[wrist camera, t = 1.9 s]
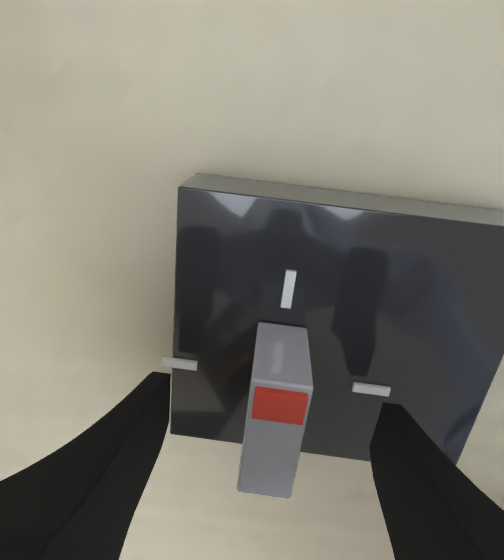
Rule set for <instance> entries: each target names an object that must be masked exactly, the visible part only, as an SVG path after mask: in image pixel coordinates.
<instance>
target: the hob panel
mask: <svg viewBox="0 0 504 560" xmlns="http://www.w3.org/2000/svg"><path fill="white" fill-rule="evenodd" d="M259 322H264V323H272V324H279V325H287V326H295V327H302V328H306V329H307V332H308V341H309V350H310V360H311V369H312V378H313V388H314V389H313V394H312V398H311V403H310V408H309V413H308V417H307V422H306V427H305V432H304V436H303V441H302V446H301V451H300V452H305V453H312V454H319V455H327V456H334V457H341V458H348V459H356V460H363V461H370V462H371V458H370V450H369V447H370V443H371V440H372V437H373V433H374V430H375V427H376V424H377V420H378V417H379V414H380V410H381V407H382V404H383V402H386V403H394V404H401V405H402V406H403V407H404V408H405V409H406V410H407V411H408V413H409V414H410V415H411V416H412V417H413V418H414V420H415V421H416V422H417V423H418V424H419V426H420V427H421V428H422V429H423V430H424V431H425V432H426V434H427V435H428V436H429V437H430V438H431V439H432V441H433V442H434V443H435V444H436V445H437V446H438V447H439V448H440V450H441V451H442V452H443V453H444V454H445V455H446V456H447V457H448V458H449V459H450V460H451V461H452V462H453V464H454V465H455V466H456V464H457V462H458V459H459V457H460V455H461V452H462V450H463V448H464V445H465V443H466V441H467V439H468V436H469V434H470V432H471V429H472V427H473V425H474V422H475V420H476V418H477V415H478V413H479V411H480V408H481V406H482V404H483V401H484V399H485V397H486V394H487V392H488V390H489V388H490V385H491V383H492V381H493V378H494V376H495V374H496V371H497V369H498V367H499V364H500V362H501V360H502V357H503V355H504V210H497V209H489V208H481V207H472V206H464V205H456V204H448V203H440V202H431V201H423V200H415V199H407V198H398V197H390V196H382V195H374V194H366V193H357V192H349V191H341V190H333V189H325V188H316V187H308V186H300V185H292V184H284V183H275V182H267V181H259V180H251V179H242V178H234V177H226V176H218V175H210V174H201V173H196V174H195V175H194V176H192V177H191V178H190V179H188V180H187V181H185V182H184V183H183V184H181V185H180V186H179V187H178V203H177V234H176V266H175V297H174V328H173V358H171V357H163V356H162V358H161V366H164V367H172V391H171V422H170V434H175V435H182V436H190V437H197V438H204V439H211V440H218V441H226V442H233V443H240V444H242V442H243V434H244V426H245V418H246V410H247V402H248V395H249V387H250V379H251V371H252V364H253V356H254V348H255V341H256V333H257V325H258V323H259Z"/></svg>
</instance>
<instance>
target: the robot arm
mask: <svg viewBox="0 0 504 560" xmlns="http://www.w3.org/2000/svg"><path fill="white" fill-rule="evenodd" d="M170 377H171V374H168V373H160V372H152V373H150V374H149V375H148V376H147V377H146V378H145V379H144V380H143V381H142V382H141V383H140V384H139V385H138V386H137V387H136V388H135V389H134V390H133V391H132V392H131V393H129V394H128V395H127V396H126V397H125V398H124V399H123V400H122V401H121V402H120V403H118V404H117V405H116V406H115V407H114V408H113V409H112V410H111V411H109V412H108V413H107V414H106V415H105V416H103V417H102V418H101V419H100V420H98V421H97V422H96V423H95V424H93V425H92V426H91V427H90V428H88V429H87V430H86V431H84V432H83V433H81V434H80V435H79V436H77V437H76V438H75V439H73V440H72V441H70V442H69V443H67V444H66V445H64V446H63V447H61V448H60V449H58V450H56V451H55V452H53V453H52V454H50V455H48V456H46V457H45V458H43V459H41V460H40V461H38V462H36V463H35V464H33V465H31V466H29V467H27V468H25V469H24V470H22V471H20V472H18V473H16V474H14V475H12V476H10V477H8V478H6V479H4V480H2V481H0V560H119V557H120V554H121V550H122V547H123V544H124V541H125V538H126V535H127V532H128V528H129V525H130V523H131V520H132V518H133V515H134V512H135V510H136V507H137V505H138V503H139V500H140V498H141V496H142V493H143V491H144V488H145V486H146V484H147V481H148V479H149V477H150V474H151V472H152V469H153V467H154V465H155V462H156V460H157V457H158V455H159V453H160V450H161V447H162V444H163V441H164V437H165V434H166V430H167V427H168V423H169V411H170ZM369 450H370V458H371V465H372V472H373V478H374V482H375V486H376V490H377V493H378V497H379V501H380V505H381V508H382V512H383V515H384V519H385V523H386V526H387V530H388V534H389V537H390V541H391V545H392V548H393V552H394V557H395V560H504V511H503V510H502V509H501V508H500V507H499V506H497V505H496V504H495V503H494V502H493V501H492V500H491V499H490V498H488V497H487V496H486V495H485V494H484V493H483V492H482V491H481V490H480V489H479V488H478V487H476V486H475V485H474V484H473V483H472V482H471V481H470V480H469V479H468V478H467V477H466V476H465V475H464V474H463V473H462V472H461V471H460V470H459V469H458V468H457V467H456V466H455V465H454V464H453V462H452V461H451V460H450V459H449V458H448V457H447V456H446V455H445V454H444V453H443V452H442V451H441V450H440V448H439V447H438V446H437V445H436V444H435V443H434V442H433V441H432V439H431V438H430V437H429V436H428V435H427V434H426V432H425V431H424V430H423V429H422V428H421V427H420V426H419V424H418V423H417V422H416V421H415V420H414V418H413V417H412V416H411V415H410V414H409V413H408V411H407V410H406V409H405V408H404V407H403V406H402V405H401V404H394V403H386V402H383V404H382V407H381V410H380V414H379V417H378V420H377V424H376V427H375V430H374V433H373V437H372V440H371V443H370V447H369Z"/></svg>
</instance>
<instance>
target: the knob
mask: <svg viewBox="0 0 504 560" xmlns="http://www.w3.org/2000/svg"><path fill="white" fill-rule="evenodd" d="M313 389H314V388H313V378H312V369H311V360H310V350H309V341H308V332H307V329H306V328H302V327H295V326H287V325H279V324H272V323H264V322H259V323H258V325H257V333H256V341H255V348H254V356H253V364H252V371H251V379H250V387H249V395H248V402H247V410H246V418H245V426H244V434H243V442H242V450H241V458H240V466H239V474H238V482H237V491H238V492H244V493H251V494H258V495H265V496H272V497H279V498H286V499H289V498H290V497H291V493H292V489H293V484H294V479H295V474H296V470H297V465H298V460H299V455H300V451H301V446H302V441H303V436H304V432H305V427H306V422H307V417H308V413H309V408H310V403H311V398H312V394H313Z"/></svg>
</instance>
